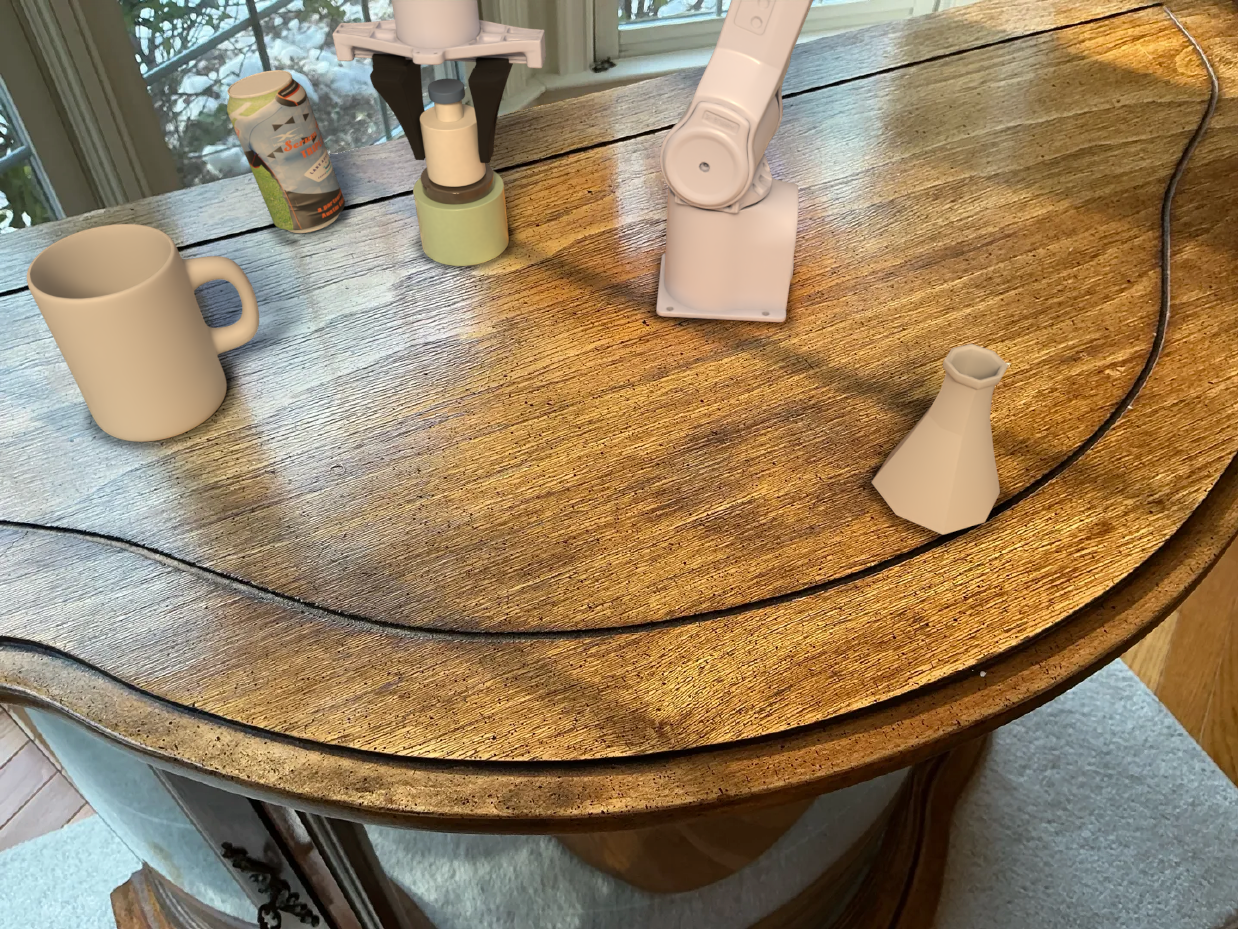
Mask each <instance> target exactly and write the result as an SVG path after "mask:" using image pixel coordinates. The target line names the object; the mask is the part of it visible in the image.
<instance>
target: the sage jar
mask: <svg viewBox="0 0 1238 929" xmlns="http://www.w3.org/2000/svg"><path fill="white" fill-rule="evenodd" d="M485 168H486V172H485V175H484V176H483V177H482V178H481V179H480V180H479V181H477V182H475V183H472V184H470V185H466V186H459V187H448V186H442V185H439V184H436V183H434V182H433V181H431V180H430V178H429V176H428V171H427V166H426V167H425V168H424V169H423V170H422V172H421V174H420V177H419V178H418V179H417V180H416V182H415V183H414V185H413V188H412V194H413V199H414V206H415V212H416V217H417V224H418V229H419V235H420V242H421V247H422V251H423V252H424V254H425V256H427V257H428V258H429V259H430V260H433V261H434V262H436V263H439V264H442V265H446V266H453V267H469V266H476V265H481V264H484V263H487V262H489V261H491V260H494V259H496V258H497V257H500V255H502V253H504V252H505V250H506V249H507V247H508V245H509V242H510V236H509V226H508V225H509V224H508V216H507V215H508V214H507V202H506V195H505V194H506V192H505V183H504V180H503V178H502V177H501V175H500V174H499V173H497V172H496V171H495V170H494V169H493V167H492V166H491V165H490V164H489V163H485Z"/></svg>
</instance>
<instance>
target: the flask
mask: <svg viewBox="0 0 1238 929" xmlns="http://www.w3.org/2000/svg"><path fill="white" fill-rule="evenodd" d="M1008 368H1009V364H1008V363H1007V362H1006V361H1005V360H1004V359H1003V358H1002V357H1000V355H999V354H998V353H997V352H995V351H994V350H992V349H989V348H987V347H984V346H983V347H982V346H980V345H978V344H974V343H968V344H964V345H960V346H956V347H951V349H950V351H949V352H948V354H947V355H946V356H945V358H944V360H943V362H942V369H943V370H944V371H945V375H944V378H943V382H942V384H941V387H940V390H939V392H938V394H937V396H936V398H935V399H934V401H933V403H932V405H930V407H929V408H928V409H927V411H925V413H924V414H923V416H922V417H921V418H920V419H919V421H917V423H916V424H915V425H914V426H913V428H912V429H911V430H909V432H908V433H907V434H906V435H905V436H904V437H903V438H902V439H901V440H900V442H898V444H897V445H896V446H895V447H894V448H893V449H892V451H891V452H890V453H889V454H888V456H887V457H886V459H885V461H884V462H883V463H882V465H881V467H880V468H879V470H877V473H876V474H875V476H874V477H873V479H872V480H871V485H872V486H873V487H874V488H875V489H876V491H877V492H878V493H879V494H880V496H881V497H882V498H883V500H884V501H885V502H886V504H887V505H888V506H889V508H890V509H891V510H892V511H893V513H894V514H895V515H896V516H897V517H900V518H903V519H904V520H907V521H909V522H911V523H914V524H917V525H918V526H921V527H923V528H925V529H928V530H931V531H933V532H936V533H938V534H940V535H947V534H951V533H953V532H956V531H960V530H964V529H967V528H970V527H972V526H977V525H980V524H983V523H985V522H986V521H987V519H988V517H989V515H990V513H991V511H992V509H993V506H994V505H995V504H996V501H997V499H998V498H999V496H1000V493H1001V490H1000V480H999V476H998V475H999V474H998V469H997V463H996V458H995V451H994V442H993V440H994V439H993V433H992V423H991V422H992V421H991V413H992V403H993V393H994V390H995V387H996V386H997V385H999V383H1000V382H1001V380H1002V378H1003V376H1004V375H1005V373H1006V371H1007V369H1008Z"/></svg>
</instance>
